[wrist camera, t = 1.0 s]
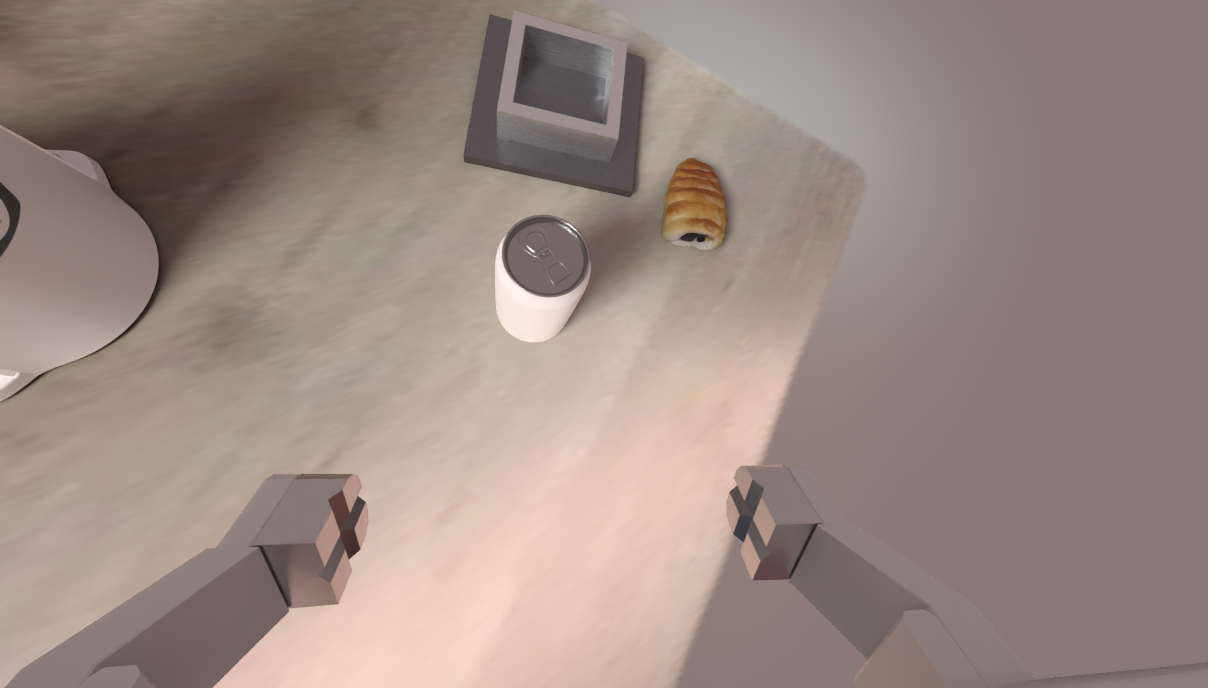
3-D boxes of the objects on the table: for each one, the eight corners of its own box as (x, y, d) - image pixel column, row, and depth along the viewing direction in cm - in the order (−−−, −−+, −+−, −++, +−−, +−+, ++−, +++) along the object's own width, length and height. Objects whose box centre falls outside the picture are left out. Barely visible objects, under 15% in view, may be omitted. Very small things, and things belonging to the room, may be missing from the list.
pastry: (660, 163, 46) (674, 139, 43) (719, 175, 48) (737, 153, 44) (657, 246, 44) (672, 228, 40) (719, 256, 46) (738, 240, 42)
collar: (464, 161, 41) (460, 129, 37) (490, 23, 45) (489, -21, 40) (629, 197, 44) (643, 171, 40) (640, 65, 48) (654, 28, 44)
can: (541, 261, 41) (558, 191, 29) (582, 318, 40) (615, 270, 29) (481, 298, 39) (473, 238, 27) (524, 357, 38) (534, 323, 27)
